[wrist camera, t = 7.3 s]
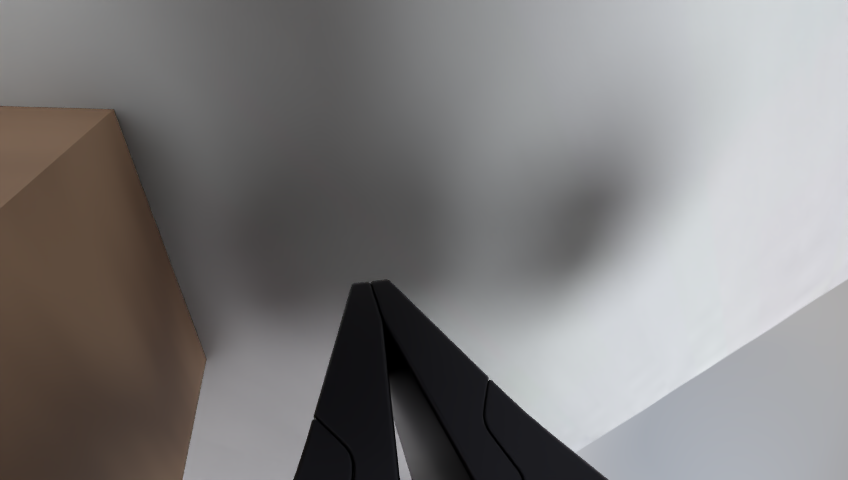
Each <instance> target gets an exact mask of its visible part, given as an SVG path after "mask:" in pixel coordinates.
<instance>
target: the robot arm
mask: <svg viewBox="0 0 848 480" xmlns="http://www.w3.org/2000/svg"><path fill="white" fill-rule="evenodd" d="M488 380H489V378H488V376H487V375H486V374H485V373H484V372H483V371H482V370H481V369H480V368H479V367H478V366H476V365H475V364H474V363H473V362H472V361H471V360H470V359H469V358H468V357H467V356H466V355H465V354H464V353H463V352H462V351H461V350H460V349H459V348H458V347H457V346H456V345H455V344H454V343H453V342H452V341H451V340H450V339H449V338H448V337H447V336H446V335H445V334H444V333H443V332H442V331H441V330H440V329H439V328H438V327H437V326H436V325H435V324H433V323H432V322H431V321H430V320H429V319H428V318H427V317H426V316H425V315H424V314H423V313H422V312H421V311H420V310H419V309H418V308H417V307H416V306H415V305H414V304H413V303H412V302H411V301H410V300H409V299H408V298H407V297H406V296H405V295H404V294H403V293H402V292H401V291H400V290H399V289H398V288H397V287H396V286H395V285H394V284H393V283H392V282H391V281H389V280H387V279H385V280H377V281H372V282H371V284H370V283H369V282H360V283H354V284H352V286H351V289H350V292H349V296H348V299H347V302H346V306H345V309H344V313H343V316H342V320H341V323H340V327H339V330H338V334H337V337H336V341H335V344H334V348H333V351H332V354H331V358H330V361H329V365H328V368H327V372H326V375H325V379H324V382H323V386H322V389H321V393H320V396H319V399H318V403H317V406H316V410H315V413H314V420H312V423H311V426H310V430H309V433H308V437H307V440H306V443H305V446H304V449H303V452H302V455H301V459H300V462H299V465H298V468H297V471H296V474H295V476H294V479H293V480H400V476H399V467H398V457H397V448H396V439H395V429H394V422H395V425H396V428H397V432H398V435H399V438H400V442H401V445H402V448H403V452H404V455H405V458H406V462H407V465H408V468H409V472H410V475H411V478H412V480H608V479H607V478H606V477H604V476H603V475H602V474H601V473H599V472H598V471H597V470H596V469H594V468H593V467H592V466H590V465H589V464H588V463H587V462H586V461H584V460H583V459H582V458H581V457H579V456H578V455H577V454H576V453H575V452H573V451H572V450H571V449H570V448H568V447H567V446H566V445H565V444H563V443H562V442H561V441H560V440H558V439H557V438H556V437H555V436H553V435H552V434H551V433H550V432H548V431H547V430H546V429H545V428H544V427H542V426H541V425H540V424H539V423H538V422H537V421H535V420H534V419H533V418H532V417H531V416H529V415H528V414H527V413H526V412H525V411H524V410H523V409H521V408H520V407H519V406H518V405H517V404H516V403H515V402H514V401H513V400H512V399H511V398H510V397H509V396H507V395H506V394H505V393H504V392H503V391H502V390H501V389H500V388H499V387H498V386H497V385H496V384H495V383H494V382H493V381H492V380H489V381H488ZM393 418H394V420H393Z"/></svg>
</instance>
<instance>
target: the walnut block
mask: <svg viewBox="0 0 848 480" xmlns="http://www.w3.org/2000/svg"><path fill="white" fill-rule="evenodd" d="M205 364H206V357H205V354H204V352H203V349H202V346H201V343H200V341H199V338H198V335H197V333H196V330H195V327H194V325H193V322H192V319H191V317H190V314H189V311H188V309H187V306H186V303H185V300H184V298H183V295H182V292H181V290H180V287H179V284H178V282H177V279H176V276H175V274H174V271H173V268H172V265H171V263H170V260H169V257H168V255H167V252H166V249H165V247H164V244H163V241H162V239H161V236H160V233H159V230H158V228H157V225H156V222H155V220H154V217H153V214H152V212H151V209H150V206H149V204H148V201H147V198H146V195H145V193H144V190H143V187H142V185H141V182H140V179H139V177H138V174H137V171H136V169H135V166H134V163H133V160H132V158H131V155H130V152H129V150H128V147H127V144H126V142H125V139H124V136H123V134H122V131H121V128H120V125H119V123H118V120H117V117H116V115H115V112H114V109H86V108H49V107H13V106H0V480H182V479H183V474H184V469H185V464H186V459H187V454H188V449H189V444H190V439H191V434H192V429H193V424H194V419H195V414H196V409H197V404H198V399H199V394H200V389H201V384H202V379H203V374H204V369H205Z"/></svg>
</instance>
